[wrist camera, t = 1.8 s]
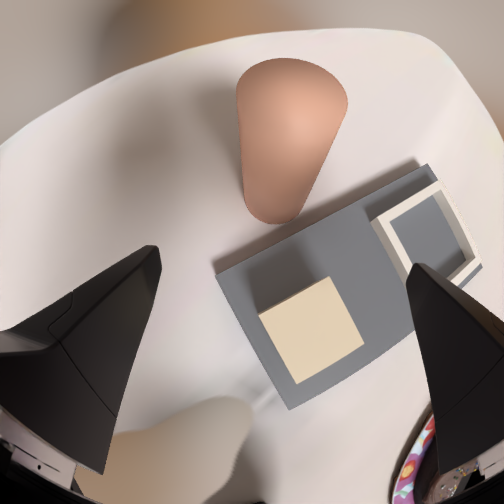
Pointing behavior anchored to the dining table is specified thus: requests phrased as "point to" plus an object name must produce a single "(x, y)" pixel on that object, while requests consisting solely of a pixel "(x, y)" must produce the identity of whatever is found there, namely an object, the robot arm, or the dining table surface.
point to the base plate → (347, 283)
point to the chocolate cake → (426, 472)
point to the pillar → (285, 133)
